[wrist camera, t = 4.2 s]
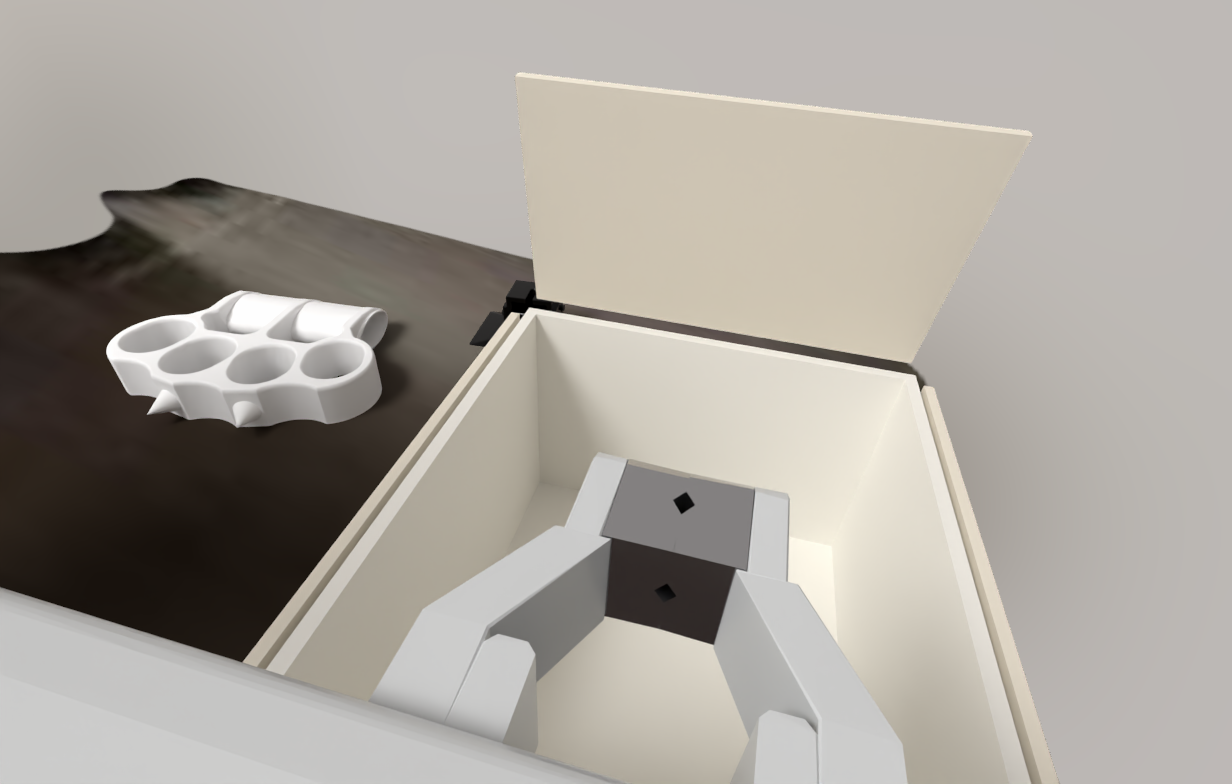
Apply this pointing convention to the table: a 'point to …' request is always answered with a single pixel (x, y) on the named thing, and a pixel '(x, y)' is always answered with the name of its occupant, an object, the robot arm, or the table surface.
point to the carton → (712, 447)
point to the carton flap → (754, 210)
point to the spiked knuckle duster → (255, 360)
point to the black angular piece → (514, 310)
